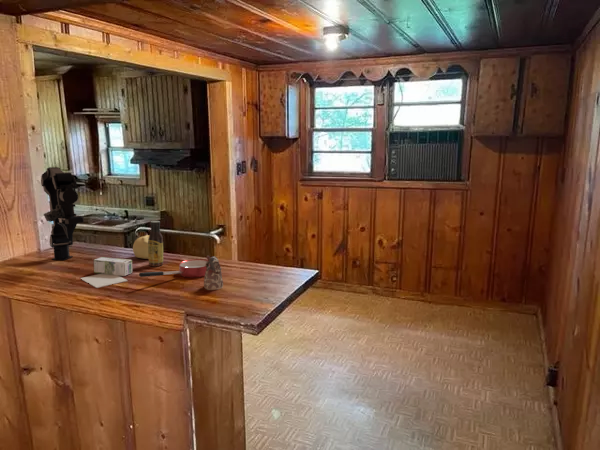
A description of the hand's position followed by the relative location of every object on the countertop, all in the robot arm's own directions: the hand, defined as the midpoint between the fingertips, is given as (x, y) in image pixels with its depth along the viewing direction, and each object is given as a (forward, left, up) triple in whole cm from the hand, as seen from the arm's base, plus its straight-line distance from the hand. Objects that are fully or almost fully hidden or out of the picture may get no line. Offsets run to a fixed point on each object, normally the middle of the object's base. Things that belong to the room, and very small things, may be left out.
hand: (69, 238), depth 185 cm
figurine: (+18, +69, -13) cm, 72 cm away
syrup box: (+6, +15, -10) cm, 19 cm away
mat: (+15, +23, -13) cm, 30 cm away
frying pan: (+10, +52, -13) cm, 54 cm away
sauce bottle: (-8, +35, -13) cm, 38 cm away
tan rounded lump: (-20, +25, -13) cm, 34 cm away
